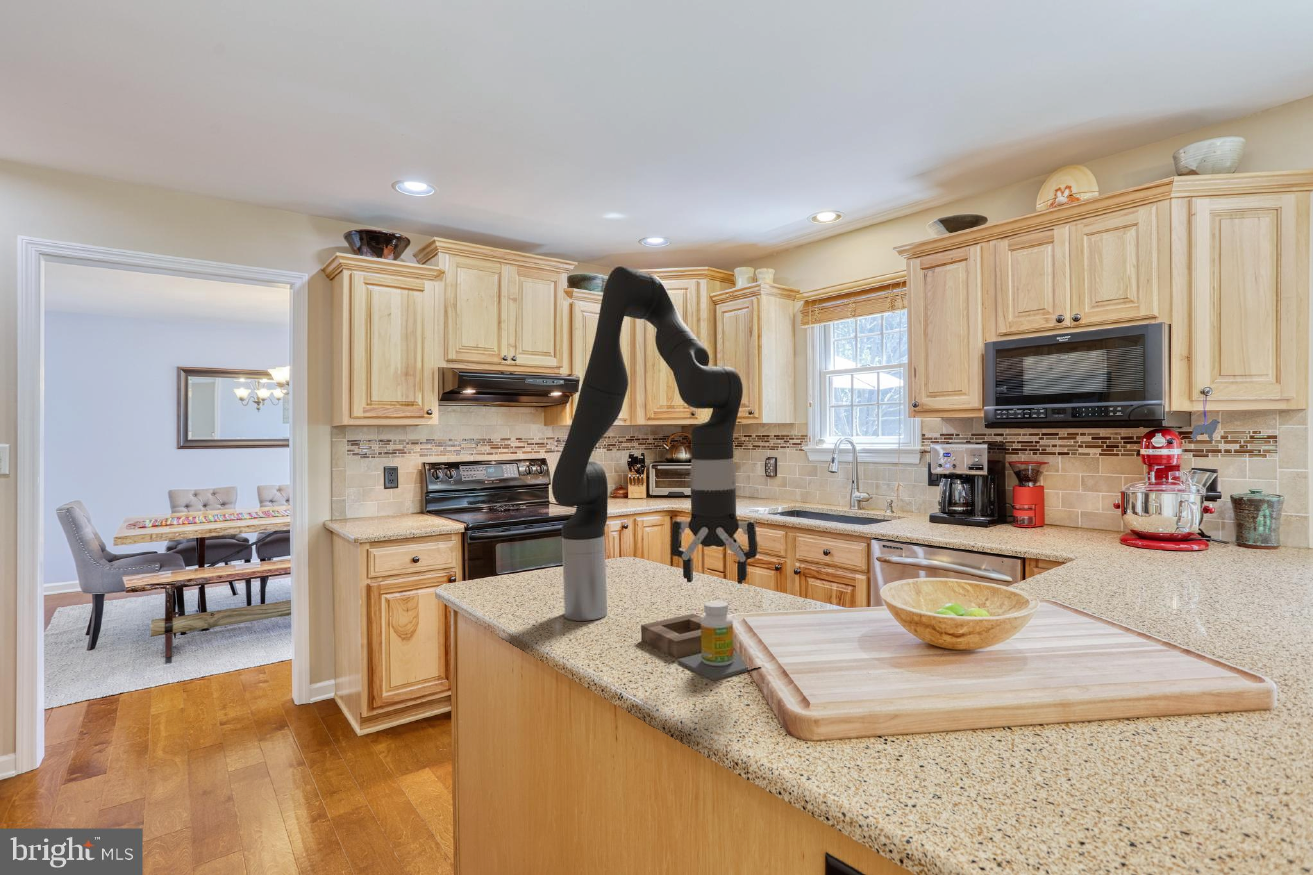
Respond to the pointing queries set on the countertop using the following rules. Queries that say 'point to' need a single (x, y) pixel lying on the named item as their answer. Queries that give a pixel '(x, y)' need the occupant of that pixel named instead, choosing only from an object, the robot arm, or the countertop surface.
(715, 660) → the supplement bottle
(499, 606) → the countertop surface
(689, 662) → the mat
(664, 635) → the frame
